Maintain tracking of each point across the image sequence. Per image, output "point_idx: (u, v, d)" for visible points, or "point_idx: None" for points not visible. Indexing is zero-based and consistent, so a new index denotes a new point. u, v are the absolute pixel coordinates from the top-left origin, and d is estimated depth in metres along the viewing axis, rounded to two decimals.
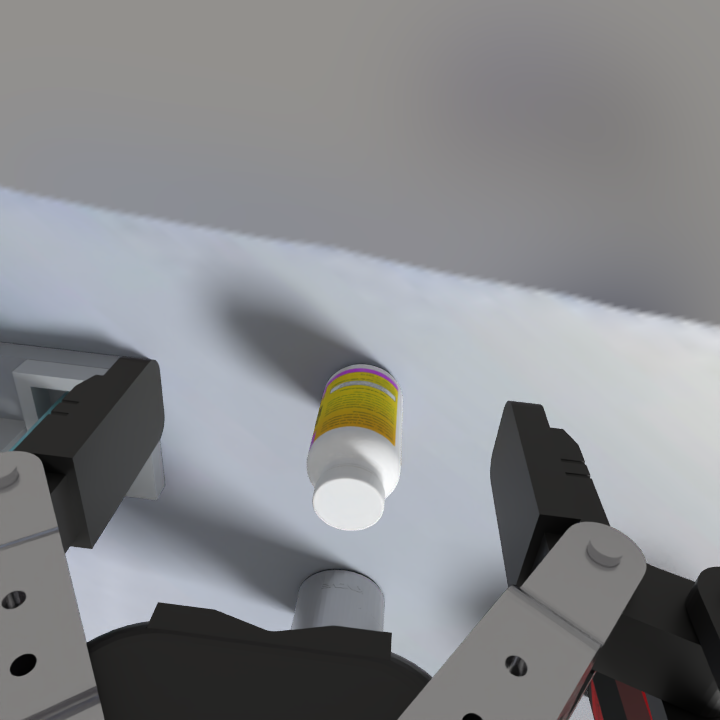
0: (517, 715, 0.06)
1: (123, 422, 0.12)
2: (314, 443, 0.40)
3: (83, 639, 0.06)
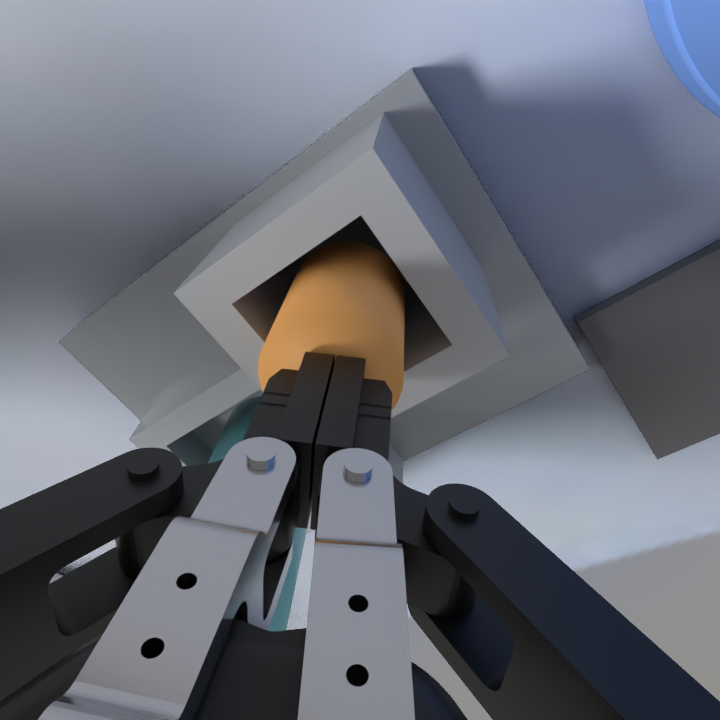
0: (382, 641, 0.07)
1: None
2: None
3: (202, 658, 0.06)
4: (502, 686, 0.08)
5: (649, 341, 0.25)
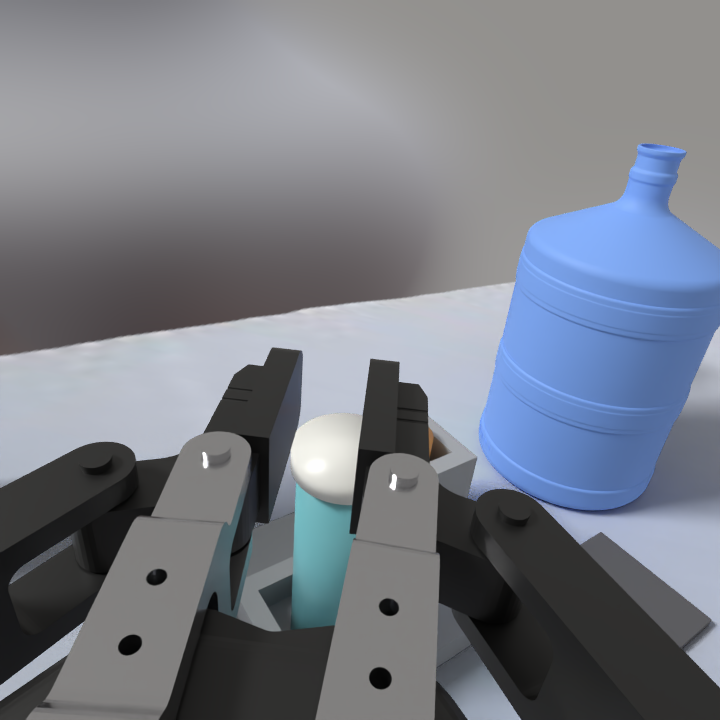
0: (408, 648, 0.07)
1: (287, 408, 0.12)
2: None
3: (182, 648, 0.06)
4: (539, 696, 0.08)
5: None
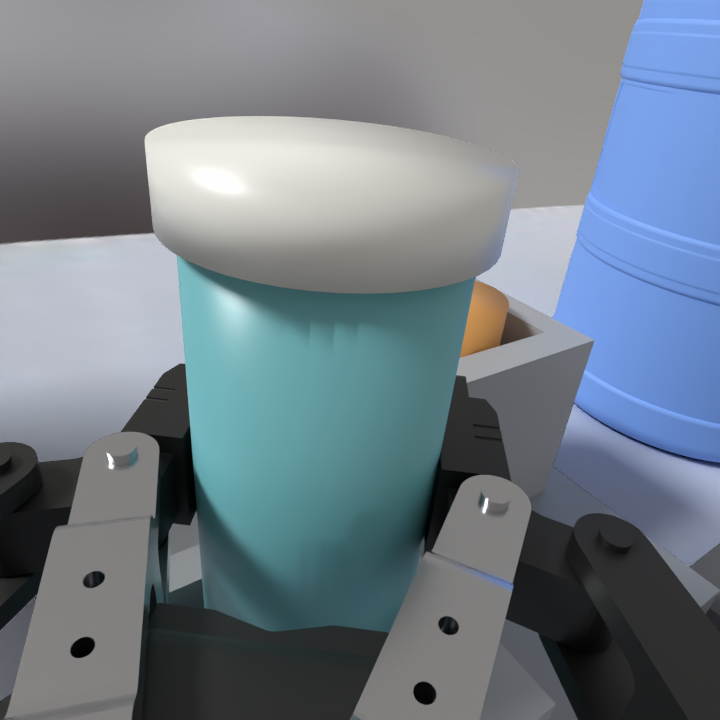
0: (459, 672, 0.06)
1: None
2: None
3: (139, 637, 0.06)
4: None
5: None
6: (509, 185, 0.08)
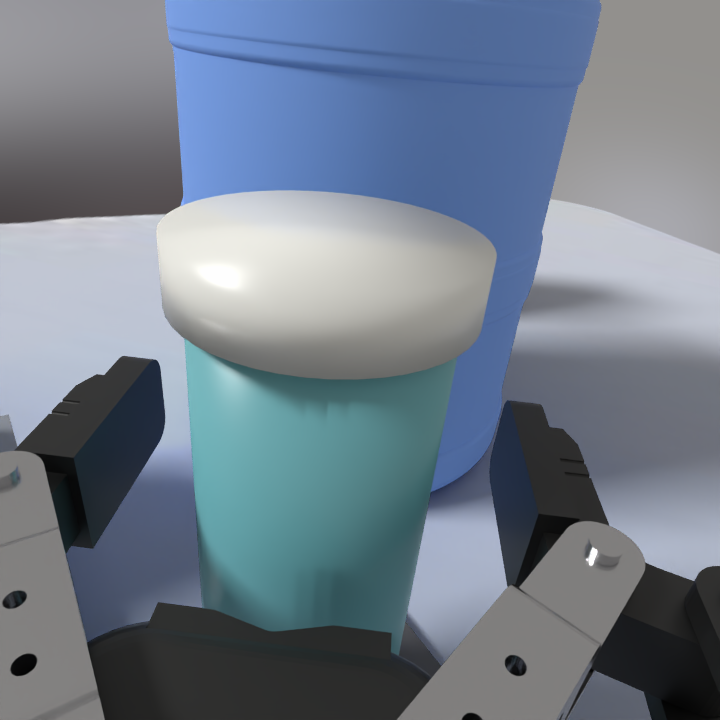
0: (516, 716, 0.06)
1: (124, 422, 0.12)
2: None
3: (83, 639, 0.06)
4: None
5: None
6: (486, 276, 0.08)
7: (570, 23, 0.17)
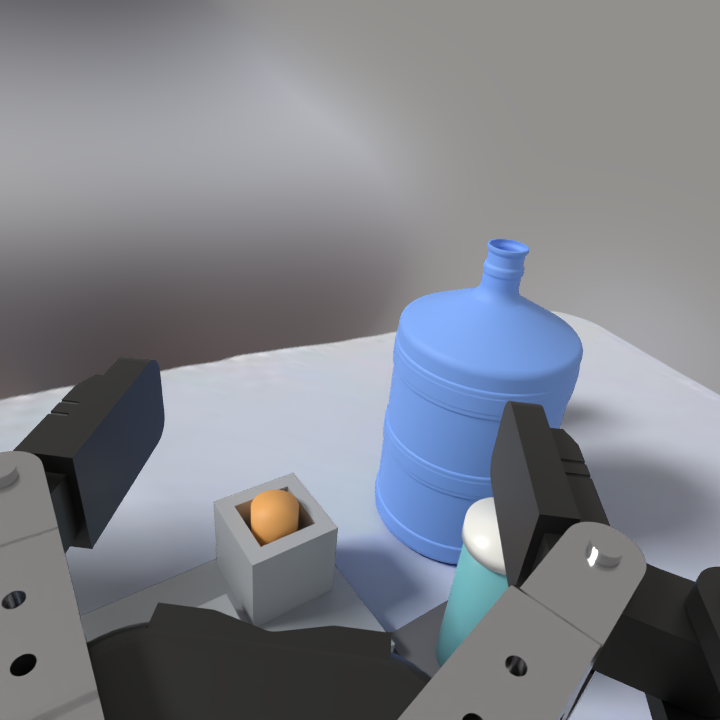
0: (517, 716, 0.06)
1: (123, 422, 0.12)
2: None
3: (83, 639, 0.06)
4: None
5: (428, 649, 0.45)
6: None
7: (566, 392, 0.45)
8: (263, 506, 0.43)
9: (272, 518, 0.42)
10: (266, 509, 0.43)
